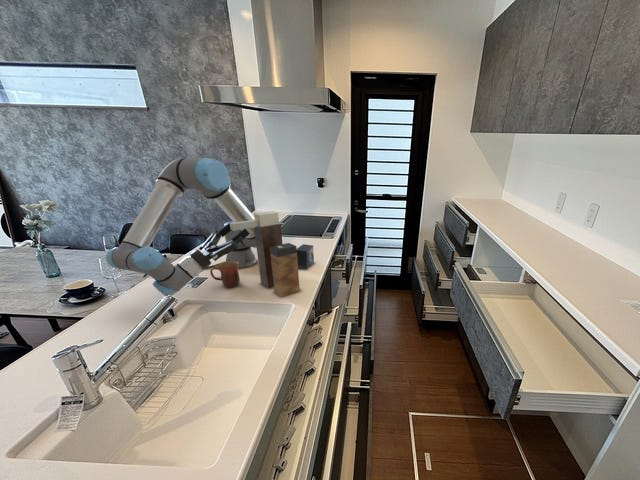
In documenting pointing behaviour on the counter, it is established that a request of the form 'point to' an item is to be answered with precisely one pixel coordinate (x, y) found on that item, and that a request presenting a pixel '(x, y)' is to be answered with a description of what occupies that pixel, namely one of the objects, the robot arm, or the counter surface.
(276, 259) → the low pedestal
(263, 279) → the tall pedestal
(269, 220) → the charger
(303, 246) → the small box
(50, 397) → the counter surface
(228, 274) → the mug
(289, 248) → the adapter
